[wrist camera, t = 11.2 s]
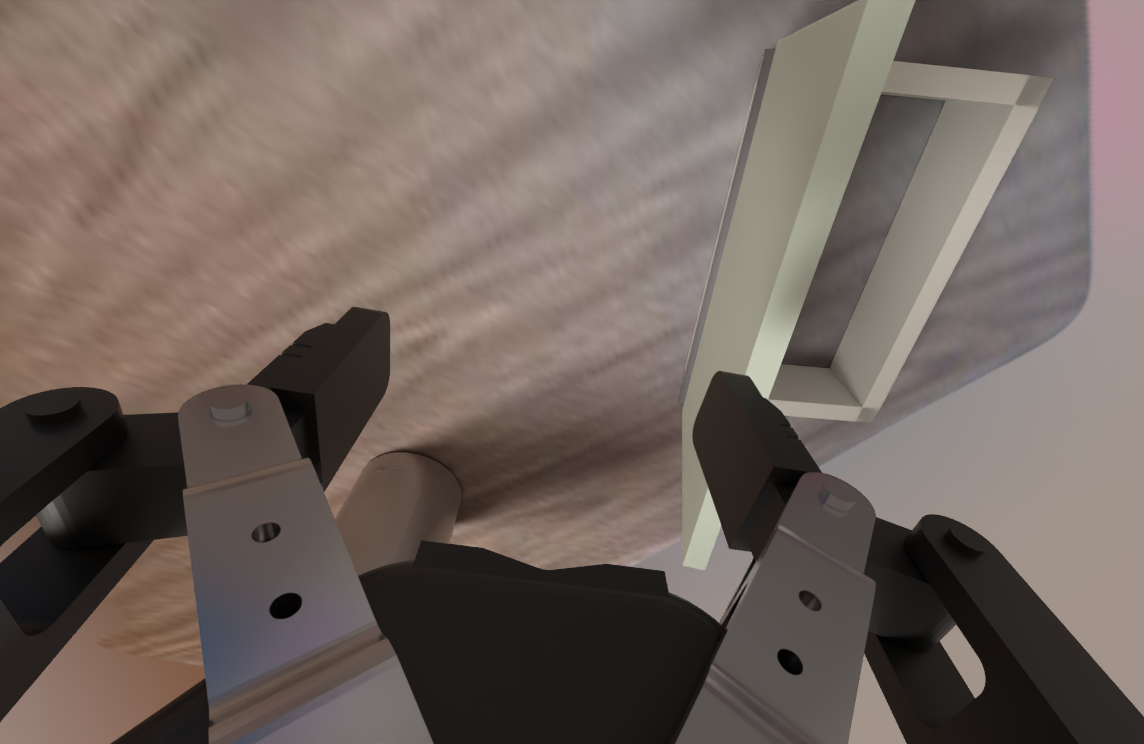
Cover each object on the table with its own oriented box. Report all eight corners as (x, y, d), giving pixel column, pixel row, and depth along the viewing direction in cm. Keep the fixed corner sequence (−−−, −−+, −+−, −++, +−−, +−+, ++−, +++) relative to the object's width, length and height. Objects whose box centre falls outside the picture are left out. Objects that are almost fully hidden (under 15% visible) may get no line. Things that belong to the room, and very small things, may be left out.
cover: (704, 570, 22) (682, 565, 22) (696, 414, 32) (682, 411, 32) (916, -3, 11) (869, -6, 11) (801, 42, 21) (777, 40, 21)
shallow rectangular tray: (846, 383, 36) (881, 423, 32) (668, 368, 36) (680, 407, 32) (988, 79, 26) (1067, 79, 22) (739, 53, 26) (771, 48, 21)
